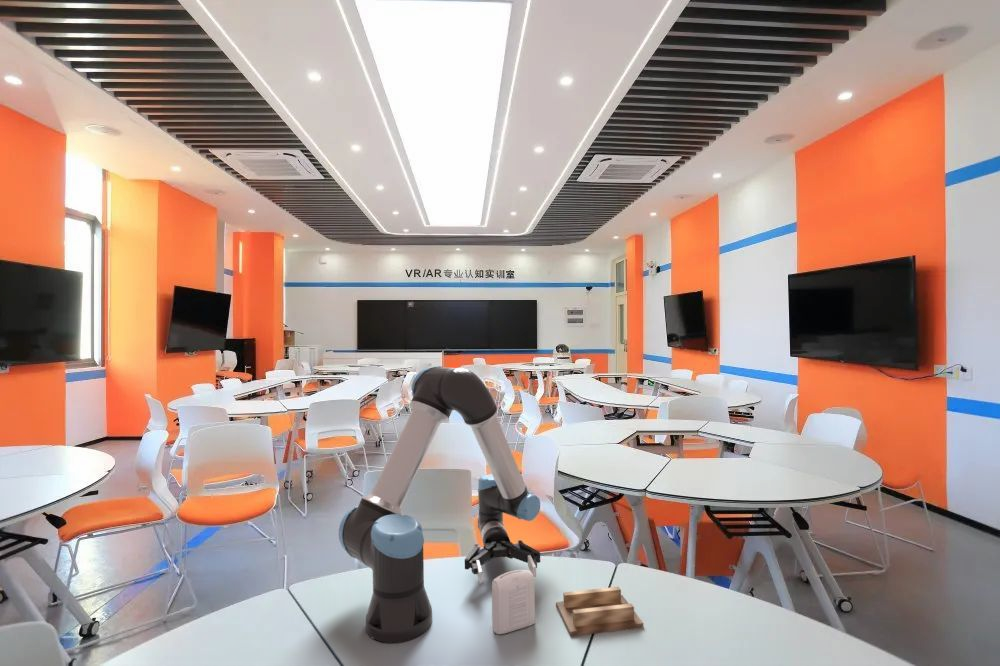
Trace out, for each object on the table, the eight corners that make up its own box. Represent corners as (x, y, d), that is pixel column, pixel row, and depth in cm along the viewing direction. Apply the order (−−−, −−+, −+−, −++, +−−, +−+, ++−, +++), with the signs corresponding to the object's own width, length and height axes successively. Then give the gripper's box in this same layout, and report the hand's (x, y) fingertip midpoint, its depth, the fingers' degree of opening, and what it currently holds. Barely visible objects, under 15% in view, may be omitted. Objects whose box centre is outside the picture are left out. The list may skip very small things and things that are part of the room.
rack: (570, 636, 107) (569, 617, 107) (556, 606, 119) (555, 589, 119) (643, 627, 109) (643, 609, 109) (622, 599, 121) (621, 583, 121)
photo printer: (528, 615, 115) (527, 562, 115) (538, 624, 112) (537, 570, 112) (489, 627, 111) (488, 573, 111) (497, 637, 107) (496, 581, 107)
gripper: (537, 548, 144) (557, 584, 123) (452, 556, 140) (457, 595, 119) (537, 523, 144) (556, 555, 123) (452, 530, 140) (457, 564, 119)
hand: (507, 574), depth 121 cm, fingers open, 13 cm apart
